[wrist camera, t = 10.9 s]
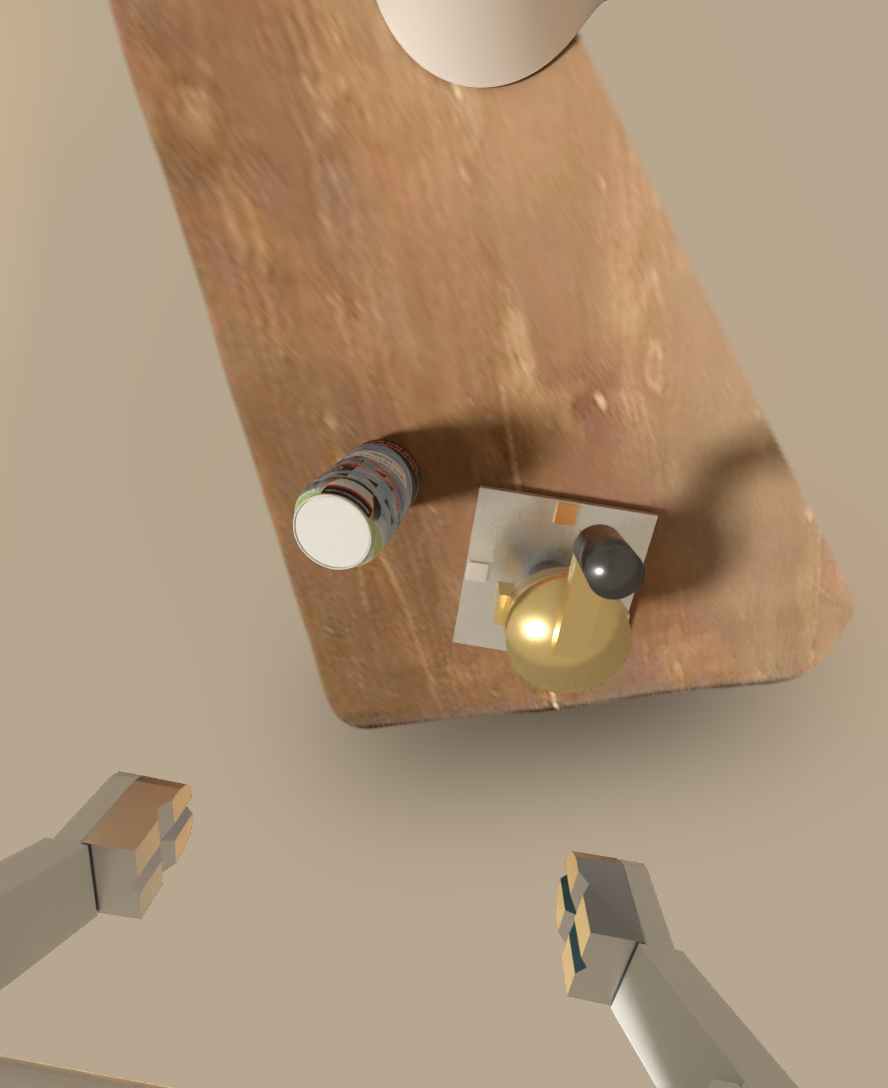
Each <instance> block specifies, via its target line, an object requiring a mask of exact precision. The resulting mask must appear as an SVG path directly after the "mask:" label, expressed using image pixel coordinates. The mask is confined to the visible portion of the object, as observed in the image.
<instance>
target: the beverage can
mask: <svg viewBox="0 0 888 1088" xmlns="http://www.w3.org/2000/svg"><path fill="white" fill-rule="evenodd" d="M420 485H421V475H420V471H419V468H418V465H417V463H416V461H415V460H414V458H413V456H412V455H411V454H410V453H409V452H408V451H407V450H406V449H404V448H403V447H402V446H400V445H398V444H397V443H394V442H391V441H387V440H372V441H369V442H366V443H364V444H362V445H360V446H359V447H358V448H356V449H355V450H354V451H352V452H351V453H350V454H348V455H347V456H346V457H345V458H343V459H342V460H341V461H339V462H338V463H337V464H335V465H334V466H333V467H331V468H330V469H329V470H328V471H326V472H325V473H324V474H322V475H321V476H320V477H318V478H317V479H316V480H314V481H313V482H312V483H311V484H309V485H308V486H307V487H306V488H305V489H304V490H303V491H302V493H301V494H300V496H299V497H298V500H297V502H296V505H295V511H294V520H293V530H294V535H295V538H296V541H297V543H298V545H299V546H300V548H301V549H302V551H303V552H304V553H305V554H306V555H307V556H308V557H309V558H310V559H311V560H313V561H314V562H316V563H318V564H319V565H321V566H324V567H327V568H331V569H339V570H341V569H348V568H351V567H357V566H361V565H364V564H366V563H368V562H370V561H371V560H373V559H374V558H375V557H377V556H378V554H379V553H380V552H381V551H382V549H383V548H384V546H385V545H386V543H387V542H388V540H389V539H390V537H391V536H392V534H393V533H394V531H395V530H396V528H397V527H398V525H399V524H400V522H401V521H402V519H403V517H404V516H405V514H406V513H407V511H408V510H409V508H410V507H411V505H412V504H413V502H414V501H415V499H416V497H417V496H418V493H419V490H420Z"/></svg>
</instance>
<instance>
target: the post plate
mask: <svg viewBox="0 0 888 1088" xmlns="http://www.w3.org/2000/svg"><path fill="white" fill-rule="evenodd" d="M657 518H658V516H657V515H656V514H655V513H654V512H647V511H641V510H635V509H629V508H622V507H616V506H610V505H604V504H597V503H591V502H585V501H579V500H572V499H566V498H560V497H554V496H547V495H541V494H535V493H529V492H523V491H516V490H510V489H504V488H498V487H491V486H485V485H480V487H479V492H478V498H477V504H476V509H475V515H474V521H473V527H472V532H471V538H470V544H469V549H468V555H467V561H466V567H465V572H464V578H463V584H462V589H461V595H460V601H459V607H458V612H457V618H456V624H455V629H454V635H453V642H456V643H462V644H468V645H474V646H480V647H486V648H492V649H498V650H504V651H507V649H506V642H505V631H504V626H499V625H493V604H494V599H495V594H496V589H497V584H498V581H503V582H510V583H514V586H515V588H516V587H517V586H518V585H519V584H520V583H521V582H522V581H523V580H525V579H526V578H528V577H529V576H531V575H533V574H534V573H537V572H539V571H542V570H545V569H548V568H554V567H570V564H571V560H572V556H573V546H574V542H575V539H576V537H577V536H578V532H579V530H581V531H582V530H584V529H585V528H587V527H589V526H592V525H596V524H604V525H608V526H611V527H613V528H614V529H615V530H616V531H618V533H619V534H620V535H621V536H622V537H623V539H624V540H625V541H626V542H627V543H628V544H629V546H630V547H631V548H632V549H633V550H634V552H635V553H636V554H637V555H638V556H639V558H640V559H641V560H642V562H643V563H644V560H645V557H646V554H647V550H648V547H649V544H650V541H651V538H652V534H653V531H654V528H655V525H656V521H657ZM634 593H635V592H634ZM634 593H633V594H631V595H630V596H628V597H625V598H622V599H619V600H622V602H623V604H624V605H625V607H626V608H627V610H628V612H629V609H630V605H631V602H632V599H633V596H634Z"/></svg>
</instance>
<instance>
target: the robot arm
mask: <svg viewBox="0 0 888 1088" xmlns="http://www.w3.org/2000/svg"><path fill="white" fill-rule="evenodd" d="M376 1H377V3H378V6H379V8H380V11H381V13H382V15H383V17H384V19H385V21H386V23H387V25H388V27H389V29H390V30H391V32H392V33H393V35H394V37H395V38H396V39H397V41H398V42H399V43H400V45H401V46H402V47H403V48H404V50H405V51H406V52H407V53H408V54H409V55H410V56H411V57H412V58H413V59H414V60H415V61H416V62H417V63H418V64H420V65H421V66H422V67H423V68H425V69H426V70H428V71H429V72H431V73H432V74H434V75H436V76H438V77H440V78H442V79H444V80H446V81H449V82H451V83H454V84H458V85H462V86H467V87H476V88H486V87H496V86H502V85H506V84H509V83H512V82H515V81H518V80H520V79H523V78H525V77H527V76H529V75H531V74H532V73H534V72H536V71H538V70H539V69H541V68H542V67H544V66H545V65H546V64H547V63H549V62H550V61H551V60H552V59H554V58H555V57H556V56H557V55H558V54H559V53H560V52H561V51H562V50H563V49H564V48H565V47H566V46H567V45H568V44H569V42H570V41H571V40H572V39H573V38H574V36H575V35H576V34H577V32H578V31H579V30H580V28H581V27H582V26H583V24H584V23H585V22H586V20H587V19H588V18H589V16H590V15H591V14H592V13H593V12H594V10H595V9H596V8H597V7H598V6H599V5H600V4H601V3H602V2H604V1H606V0H376ZM191 798H192V794H191V786H189V785H186V784H181V783H176V782H171V781H166V780H162V779H157V778H152V777H147V776H141V775H136V774H131V773H125V772H120V771H119V772H118V773H116V774H114V775H112V776H111V777H110V778H109V779H108V780H107V781H106V782H105V783H104V784H103V786H101V787H100V789H99V790H98V791H97V792H96V793H95V794H94V795H93V796H92V797H91V798H90V799H89V801H88V802H87V803H86V804H85V805H84V806H83V807H82V808H81V809H80V811H78V812H77V814H76V815H75V816H74V817H73V818H72V819H71V820H70V821H69V822H68V823H67V825H66V826H65V827H64V828H63V829H62V830H61V831H60V832H59V833H58V834H57V835H56V836H55V837H54V839H52V838H44V839H42V840H41V841H39V842H37V843H35V844H33V845H31V846H29V847H27V848H25V849H23V850H22V851H19V852H17V853H15V854H13V855H11V856H10V857H8V858H6V859H4V860H2V861H0V990H1V989H3V988H4V987H5V986H6V985H8V984H9V983H10V982H12V981H13V980H14V979H16V978H17V977H18V976H19V975H21V974H22V973H23V972H25V971H26V970H27V969H29V968H30V967H31V966H32V965H34V964H35V963H36V962H38V961H39V960H40V959H42V958H43V957H44V956H45V955H47V954H48V953H49V952H51V951H52V950H53V949H55V947H57V946H58V945H60V944H61V943H62V942H64V941H65V940H66V939H68V938H69V937H70V936H71V935H73V934H74V933H75V932H77V931H78V930H79V929H81V928H82V927H83V926H84V925H86V924H87V923H88V922H90V921H91V920H92V919H94V918H95V917H96V916H97V913H104V914H111V915H118V916H124V917H131V918H138V919H142V917H143V915H144V914H145V912H146V910H147V909H148V907H149V906H150V904H151V903H152V901H153V899H154V898H155V896H156V895H157V893H158V891H159V890H160V888H161V887H162V885H163V883H162V872H163V871H165V870H167V869H168V868H170V867H171V866H173V865H174V864H176V862H177V861H178V859H179V857H180V856H181V854H182V852H183V851H184V849H185V846H186V844H187V841H188V839H189V836H190V834H191V829H192V823H193V815H192V813H191V811H190V810H189V809H188V807H187V804H188V803H189V801H190V800H191ZM565 864H566V871H567V875H565V876H563V877H562V878H560V882H559V885H558V889H557V896H556V920H557V928H558V932H559V934H560V935H561V937H562V938H563V939H564V941H565V942H566V944H565V947H564V950H563V953H562V956H561V958H562V965H563V971H564V979H565V986H566V993H567V996H569V997H574V998H579V999H583V1000H588V1001H593V1002H597V1003H602V1004H607V1005H611V1006H612V1007H611V1010H612V1011H613V1013H614V1015H615V1016H616V1018H617V1020H618V1021H619V1023H620V1025H621V1027H622V1028H623V1030H624V1032H625V1034H626V1035H627V1037H628V1039H629V1041H630V1042H631V1044H632V1046H633V1047H634V1049H635V1051H636V1053H637V1054H638V1056H639V1058H640V1060H641V1061H642V1063H643V1065H644V1066H645V1068H646V1070H647V1072H648V1073H649V1075H650V1077H651V1078H652V1080H653V1082H654V1084H655V1085H656V1087H657V1088H798V1086H797V1085H796V1084H795V1083H794V1082H793V1081H792V1079H791V1078H790V1077H789V1076H788V1075H787V1074H786V1072H785V1071H784V1070H783V1069H782V1068H781V1066H780V1065H779V1064H778V1063H777V1062H776V1061H775V1059H774V1058H773V1057H772V1056H771V1055H770V1054H769V1052H768V1051H767V1050H766V1049H765V1048H764V1046H763V1045H762V1044H761V1043H760V1042H759V1041H758V1039H757V1038H756V1037H755V1036H754V1035H753V1034H752V1033H751V1031H750V1030H749V1029H748V1028H747V1027H746V1025H745V1024H744V1023H743V1022H742V1021H741V1019H740V1018H739V1017H738V1016H737V1015H736V1014H735V1012H734V1011H733V1010H732V1009H731V1008H730V1007H729V1006H728V1004H727V1003H726V1002H725V1001H724V999H722V997H721V996H720V995H719V994H718V992H717V991H716V990H715V989H714V988H713V987H712V985H711V984H710V983H709V982H708V981H707V979H706V978H705V977H704V976H703V975H702V974H701V972H700V971H699V970H698V969H697V968H696V967H695V965H694V964H693V963H692V962H691V961H690V959H689V958H688V957H687V956H686V955H685V954H684V953H683V951H679V950H675V949H674V946H673V943H672V940H671V937H670V934H669V931H668V928H667V925H666V922H665V919H664V916H663V913H662V910H661V908H660V905H659V902H658V899H657V896H656V893H655V890H654V887H653V884H652V881H651V878H650V875H649V872H648V869H647V868H646V866H645V865H644V864H643V863H637V862H631V861H625V860H618V859H616V858H611V857H605V856H598V855H591V854H586V853H579V852H573V851H571V852H570V853H569V855H568V857H567V860H566V863H565ZM0 1088H173V1087H168V1086H162V1085H157V1084H152V1083H146V1082H141V1081H135V1080H130V1079H125V1078H119V1077H114V1076H109V1075H104V1074H98V1073H92V1072H87V1071H82V1070H76V1069H72V1068H66V1067H61V1066H55V1065H50V1064H44V1063H39V1062H34V1061H29V1060H23V1059H17V1058H13V1057H7V1056H2V1055H0Z"/></svg>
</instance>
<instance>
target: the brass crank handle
mask: <svg viewBox="0 0 888 1088" xmlns="http://www.w3.org/2000/svg"><path fill="white" fill-rule="evenodd" d="M644 574H645V569H644V565H643V562H642V560H641V559H640V558H639V556H638V555H637V554H636V553H635V552H634V550H633V549H632V548H631V547H630V546H629V544H628V543H627V542H626V541H625V540H624V539H623V537H622V536H621V535H620V534H619V533H618V531H616V530H615V529H614V528H613V527H611V526H608V525H604V524H596V525H592V526H589V527H587V528H585V529H584V530H582V531H581V530H579V532H578V536H577V537H576V539H575V542H574V546H573V556H572V560H571V564H570V567H554V568H548V569H545V570H542V571H539V572H537V573H534V574H533V575H531V576H529V577H528V578H526V579H525V580H523V581H522V582H521V583H520V584H519V585H518V586H517V587H516V588H515V586H514V583H510V582H503V581H498V584H497V589H496V594H495V599H494V604H493V625H499V626H504V631H505V642H506V649H507V654H508V657H509V660H510V662H511V664H512V666H513V667H514V668H515V670H516V671H517V672H518V673H519V674H520V676H521V677H523V678H524V679H525V680H526V681H528V682H529V683H531V684H532V685H534V686H536V687H538V688H541V689H544V690H547V691H551V692H557V693H575V692H581V691H585V690H588V689H591V688H594V687H596V686H598V685H600V684H602V683H604V682H605V681H607V680H608V679H609V678H611V677H612V676H613V675H614V674H615V673H616V672H617V671H618V670H619V669H620V667H621V666H622V665H623V663H624V661H625V659H626V658H627V655H628V652H629V649H630V645H631V629H630V625H629V618H630V613H629V612H628V610H627V608H626V607H625V605H624V604H623V602H622V600H619V599H622V598H625V597H628V596H630V595H631V594H633V593H634V592H635V591H636V590H637V589H638V588H639V587H640V585H641V584H642V582H643V579H644Z"/></svg>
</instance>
